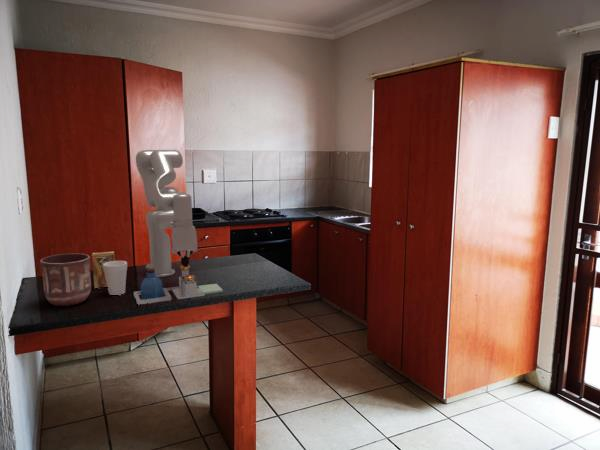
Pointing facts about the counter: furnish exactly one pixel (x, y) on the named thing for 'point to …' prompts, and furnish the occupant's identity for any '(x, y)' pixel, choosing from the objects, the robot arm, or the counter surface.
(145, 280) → the perfume bottle
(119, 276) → the foam cup
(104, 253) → the candy box
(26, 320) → the counter surface
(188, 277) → the plunger
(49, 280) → the pottery
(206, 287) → the mat
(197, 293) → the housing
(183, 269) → the plunger
